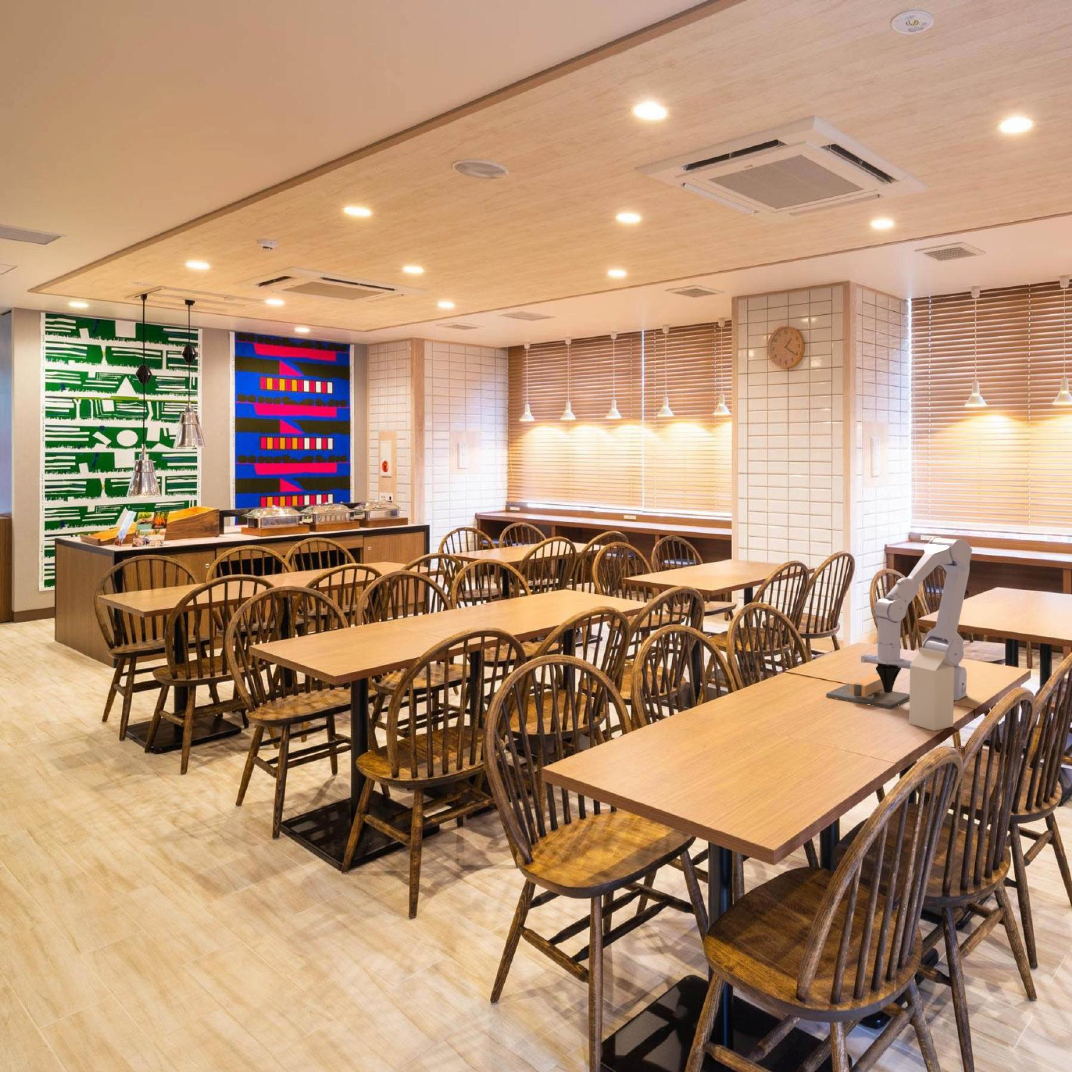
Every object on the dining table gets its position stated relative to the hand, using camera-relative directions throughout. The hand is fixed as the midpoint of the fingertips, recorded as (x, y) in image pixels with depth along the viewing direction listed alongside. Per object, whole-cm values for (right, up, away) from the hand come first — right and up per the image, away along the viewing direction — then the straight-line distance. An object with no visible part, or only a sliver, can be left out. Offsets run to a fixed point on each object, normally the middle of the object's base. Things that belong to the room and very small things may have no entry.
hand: (888, 691), depth 226 cm
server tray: (-2, -2, +6) cm, 7 cm away
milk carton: (+2, -5, -21) cm, 21 cm away
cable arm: (-2, 0, +6) cm, 6 cm away
